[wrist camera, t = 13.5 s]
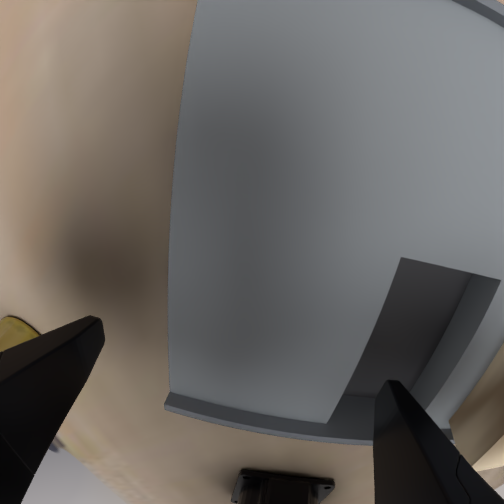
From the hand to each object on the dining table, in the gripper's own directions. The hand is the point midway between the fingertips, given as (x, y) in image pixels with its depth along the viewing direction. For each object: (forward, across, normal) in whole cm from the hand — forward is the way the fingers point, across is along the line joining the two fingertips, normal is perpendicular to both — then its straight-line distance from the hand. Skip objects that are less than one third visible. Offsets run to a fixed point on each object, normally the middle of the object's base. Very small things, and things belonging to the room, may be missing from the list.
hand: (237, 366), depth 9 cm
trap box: (+3, -11, -4) cm, 12 cm away
